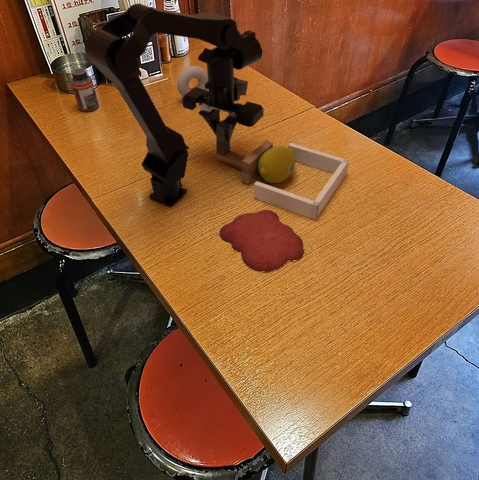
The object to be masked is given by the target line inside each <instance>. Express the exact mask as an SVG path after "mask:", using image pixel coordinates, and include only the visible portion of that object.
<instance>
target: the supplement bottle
mask: <svg viewBox="0 0 479 480" xmlns="http://www.w3.org/2000/svg"><path fill="white" fill-rule="evenodd" d="M71 75H72V78H71V79H70V84H71V88H72V91H73V94H74V98H75V100H76V104H77V107H78V109H79V111H81V112H84V113H89V112H93V111H95V110H97V109H98V108H99V106H100V103H99V99H98V95H97V92H96V89H95V84H94V82H93V78H92V77H91V76H90V75H89V74H88V72H87V70H86V68H83V67H77V68H74V69H72V70H71Z"/></svg>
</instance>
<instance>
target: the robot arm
mask: <svg viewBox="0 0 479 480" xmlns="http://www.w3.org/2000/svg"><path fill="white" fill-rule="evenodd" d="M155 34H161V35H168V36H175V37H183V38H189V39H196V40H200V41H202V42H204V43H208V44H209V45H211V46H214V47H213V48H211V49H209V48H207V47H204V48H203V50H202V52H201V53H200V54H199V55H198V56H197V60H198V61H199V62H202V63H204V64H206V73H207V75H208V82H207V83H205V88H206V89H208V90H205V89H201V88H197V87H196V86H194V87H192V88H193V89H192V90H190V91H189V92H188V93H186V94H185V95H184V96H183V97H182V100H181V102H182V107H183V109H188V110H189V111H194V110H195V108H197V104H198V106H199V109H200V110H199V111H198V116H201V117H202V118H203V119H204V121H205V122H206V123H207V125H208V126H209V127H210V129H211V131H212V132H213V133H214V136H216V124H218V123H219V122H221V115H220V113H221V112H225V113H227V114H228V115H227V116H226V117H225V119H223V122H224V128H225V134H226V138H227V140H228V141H229V140H230V141H231V139H232V137H233V133H234V132H235V128H236V126H237V124H238V125H241V126H245V127H248V128H252V127H254V126H255V125H256V124H258V122H259V121H260V120H261V119H262V118H263V117H264V112H265V111H264V107H263V106H262V105H261V104H259V103H256V102H251V101H248V100H247V101H246V102H245V103H244V104H242V103H240V102H238V101H239V100H240V99H241V97H242V96H245V97H246V96H247V90H248V84H249V81H247V80H244V79H241V78H238V77H235V73H234V71H235V70H239V71H240V70H242V69H245V68H247V67H248V66H251V65H253V64H255V63H257V62H258V61H260V60H261V59H262V56H263V49H262V46H261V44H260V41H259V40H258V39H257V38H256V32H255V31H253V30H246V31H243V33H240V32H239V30H238V26H237V21H235V20H234V19H232V18H230V17H227V16H224V15H221V14H218V13H216V12H213V11H206V12H205V11H204V12H198V13H196V14H188V13H182V12H179V11H178V12H177V11H172V10H167V9H163V8H162V9H161V8H156V7H152V6H147V5H145V4H142V3H135V4H132V5H130V6H129V7H128V8H127V9H126V10H125V11H124V12H123V13H120V14H118V15H117V16H115V17H113V18H111V19H109V20H107V21H106V22H104V24H103V25H102V26H100V27H99V28H98V29H96V30H94V31H92V32H91V33H90V34H89V36H88V37H87V38H86V39H87V40H86V43H85V46H84V52H85V54H86V57H87V59H89V61H90V62H91V63H92V64H93V65H94V67H96V69H97V70H99V72H100V73H101V74H103V75H104V76H105V77H106V78H107V79H108V80H109V81H110V82H112V83H113V85H114V86H115V88H116V89H117V91H118V92H119V94H120V96H121V98H122V99H123V100H124V102H125V104H126V105H127V107H128V109H129V110H130V112H131V113H132V115H133V117H134V118H135V121H137V123H138V125H139V126H140V128H141V131H142V132H143V133H144V135H145V137H146V141H145V142H146V143H145V145H146V148H147V153H146V154H145V156H144V158H143V160H142V162H141V167H142V168H143V170H144V171H145V172H148V173H149V174H150V175H151V177H150V184H151V189H152V193H151V194H150V195H148V198H149V199H150V200H152V201H154V202H157V203H159V204H161V205H165V206H168V207H169V208H172V207H173V206H174V205H175V204H176V203H177V202H178V201H180V200H181V198H183V196H184V195H185V194H186V193H188V190H187V189H186V188H184V187H182V179H183V178H185V175H186V171H187V163H188V158H189V156H190V155H189V151H188V149H190V147H189V146H188V145H187V144H186V142H185V138H184V137H183V135H182V134H181V133H179V132H177V131H175V130H174V129H173V128H171V127H169V126H167V125H166V124H165V122H164V120H163V117H161V114H160V113H159V111H158V109H157V107H156V105H155V104H154V102H153V99H152V98H151V96H150V94H149V93H148V92H149V91H148V90H147V89H146V87H145V85H144V84H143V81H142V80H141V77H140V67H141V66H140V62H139V59H140V57H142V56H143V55H144V54H145V52H146V50H147V47H148V45H149V42H150V39H152V36H154V35H155ZM128 35H130V36H129V37H128V38H127V39H125V37H126V36H128Z"/></svg>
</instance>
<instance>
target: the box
mask: <svg viewBox="0 0 479 480" xmlns="http://www.w3.org/2000/svg"><path fill="white" fill-rule="evenodd" d="M287 147H289V148H292V149H293V150H294V153H295V163H296V162H297V163H301V164H303V165H307V166H308V167H309V166H310V167H313V168H314V169H315V168H316V169H319V170H323V171H326V172H328V173H332V175H331V177H330V178H329V179H328V181H327V182H326V184H325V185H324V187H323V188H322V189H321V191H320V192H319V193H318V195H317V196H316V198H315V199H314V200H313V199H309V198H307V197H304V196H301V195H298V194H295V193H292V192H289V191H286V190H284V189H280V188H277V187H276V186H275V187H274V186H272V185H269V184H266V183H263V182H260V181H255V183H253V198H254V199H256V200H259V201H262V202H264V203H268V204H270V205H273V206H276V207H278V208H281V209H284V210H287V211H289V212H292V213H295V214H298V215H301V216H304V217H307V218H309V219H311V220H314V221H315V220H316V219H317V218H318V216H319V215H320V214H321V212H322V211H323V209H324V208H325V207H326V205H327V204H328V202H329V200H330V199H331V198H332V196H333V194H334V193H335V191H336V190H337V189H338V187H339V186H340V184H341V183H342V181H343V180H344V178H345V177H346V175H347V174H348V169H349V163H350V160H349V159H346V158H342V157H339V156H335V155H332V154H329V153H325V152H322V151H319V150H316V149H312V148H309V147H305V146H302V145H298V144H295V143H292V142H290V143H289V144H288V145H287Z"/></svg>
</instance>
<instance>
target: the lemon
mask: <svg viewBox="0 0 479 480" xmlns="http://www.w3.org/2000/svg"><path fill="white" fill-rule="evenodd" d="M295 166H296V161H295V153H294V150H293V149H292V148H289V147H288V146H283V145H277V146H274V147H272V148H271V149H269V150H267V151H266V152H265V153H264V154H263V155H262V156H261V157H260V159H259V162H258V170H259V173H260V174H259V175H260V176H261V178H262V179H263V180H265V182H267V183H270V184H279V183H282V182H284V181H285V180H286V179H288V178H289V177H290V176H291V175H292V173H293V172H294V169H295Z"/></svg>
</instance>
